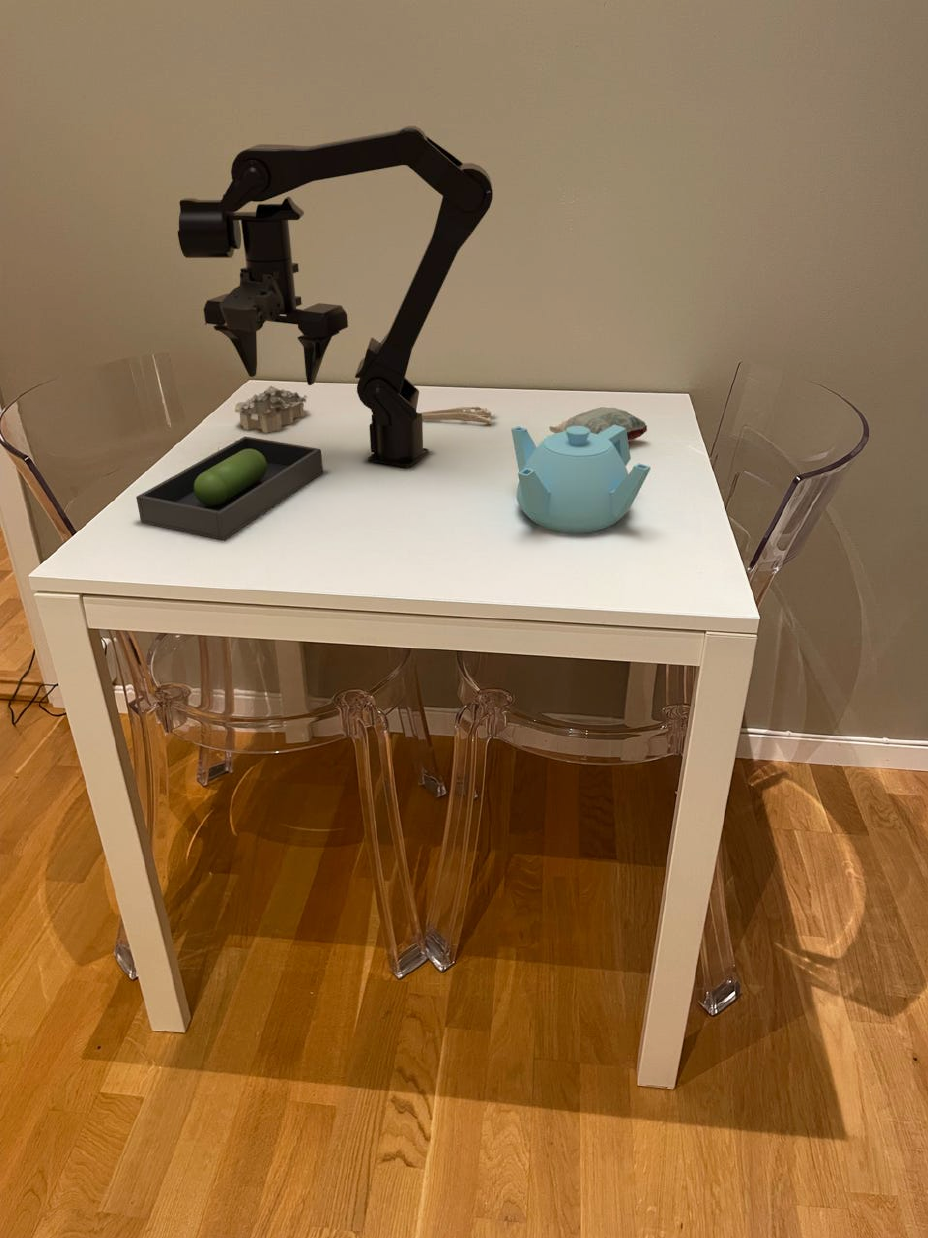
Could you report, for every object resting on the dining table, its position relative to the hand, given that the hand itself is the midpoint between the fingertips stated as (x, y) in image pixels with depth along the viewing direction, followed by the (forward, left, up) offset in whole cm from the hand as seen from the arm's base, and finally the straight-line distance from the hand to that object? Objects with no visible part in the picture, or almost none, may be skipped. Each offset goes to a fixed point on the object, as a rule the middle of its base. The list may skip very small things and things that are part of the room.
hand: (281, 380), depth 126 cm
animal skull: (-12, -22, -11) cm, 27 cm away
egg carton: (+11, -12, -11) cm, 20 cm away
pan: (-1, +14, -11) cm, 18 cm away
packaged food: (-38, -22, -11) cm, 45 cm away
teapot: (-42, +2, -11) cm, 44 cm away
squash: (-1, +14, -10) cm, 18 cm away
